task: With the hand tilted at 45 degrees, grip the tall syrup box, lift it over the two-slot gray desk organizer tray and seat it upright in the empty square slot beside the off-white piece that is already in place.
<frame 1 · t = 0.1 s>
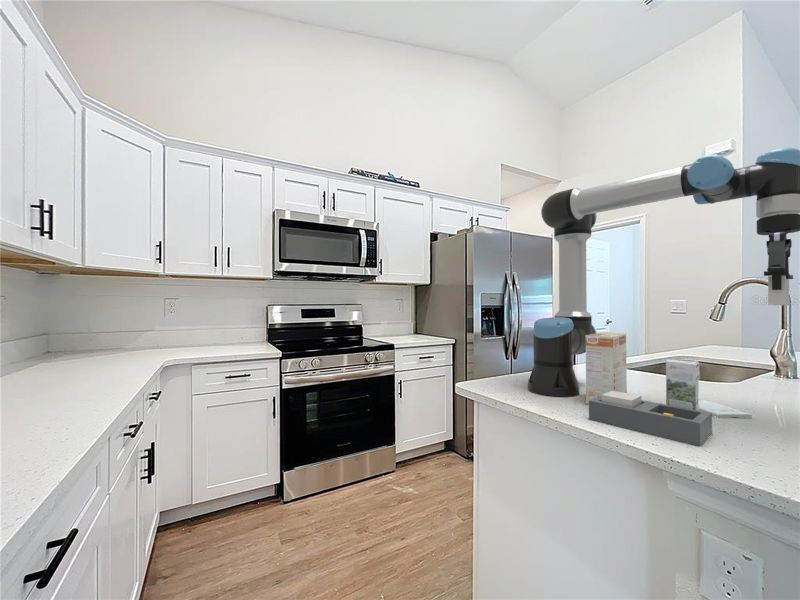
hand: (779, 305, 84), 28 cm above the countertop, tool pointing down, fingers open, 13 cm apart
gray desk organizer tray: (646, 426, 81), on the countertop
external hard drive: (713, 413, 93), on the countertop
syrup box: (682, 420, 85), on the countertop
coffeecake box: (606, 402, 101), on the countertop
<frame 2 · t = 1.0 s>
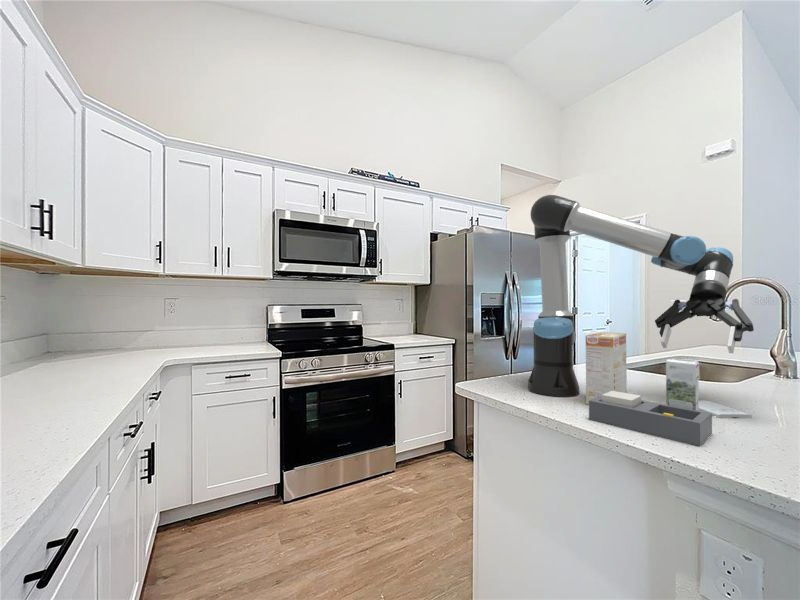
hand: (694, 347, 92), 17 cm above the countertop, tool tilted 45°, fingers open, 13 cm apart
nothing on the countertop moved.
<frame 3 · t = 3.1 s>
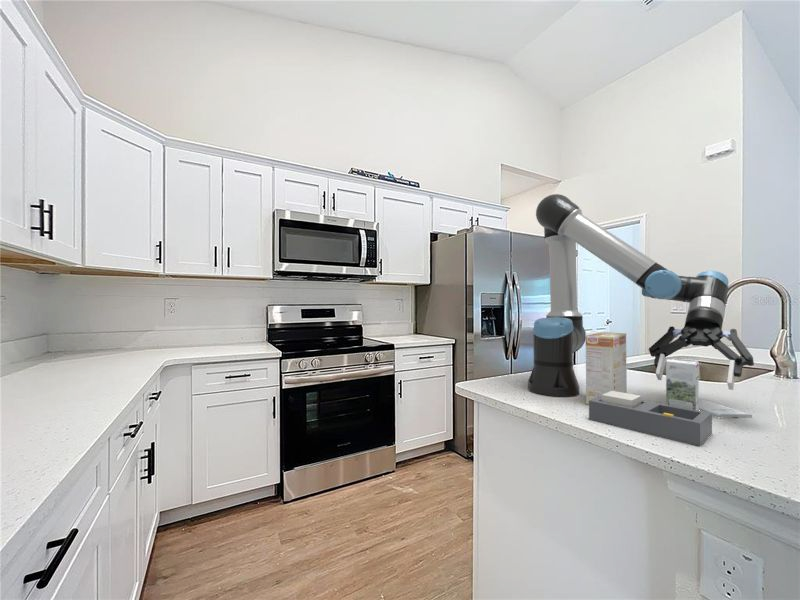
hand: (692, 381, 86), 9 cm above the countertop, tool tilted 45°, fingers open, 13 cm apart
nothing on the countertop moved.
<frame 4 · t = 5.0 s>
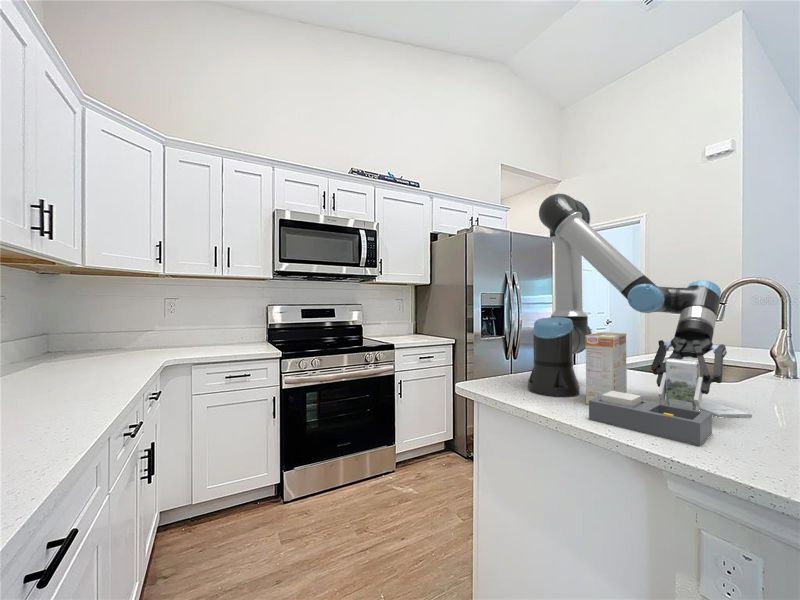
hand: (678, 400, 83), 5 cm above the countertop, tool tilted 45°, fingers closed on syrup box, 6 cm apart
syrup box: (682, 420, 85), on the countertop, touching gripper
everything else where it was.
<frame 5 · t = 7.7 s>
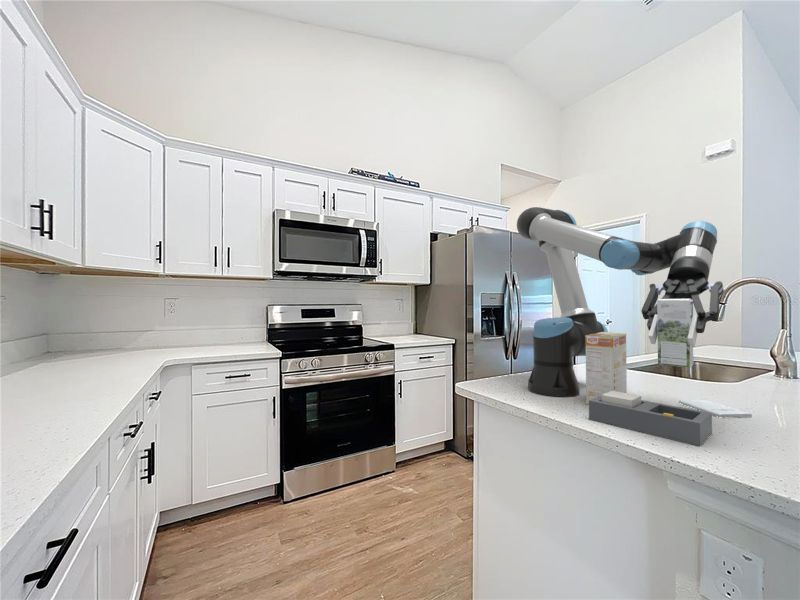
hand: (670, 341, 75), 20 cm above the countertop, tool tilted 45°, fingers closed on syrup box, 6 cm apart
syrup box: (675, 365, 77), point 15 cm above the countertop, touching gripper
everything else where it was.
when the fingers open (7 cm above the countertop, at t = 10.2 s): syrup box drops 1 cm, resting in gray desk organizer tray.
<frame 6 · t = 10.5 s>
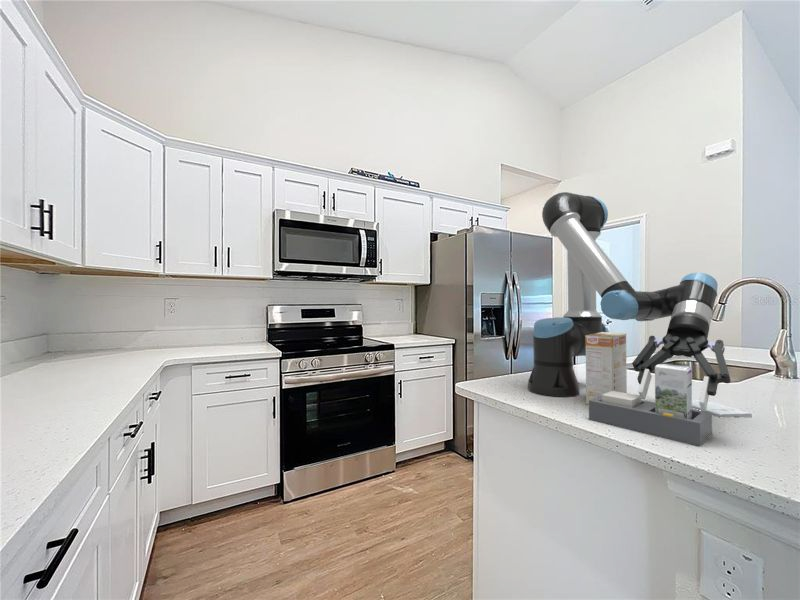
hand: (670, 400, 75), 7 cm above the countertop, tool tilted 45°, fingers open, 10 cm apart
syrup box: (673, 433, 77), resting in gray desk organizer tray
everything else where it was.
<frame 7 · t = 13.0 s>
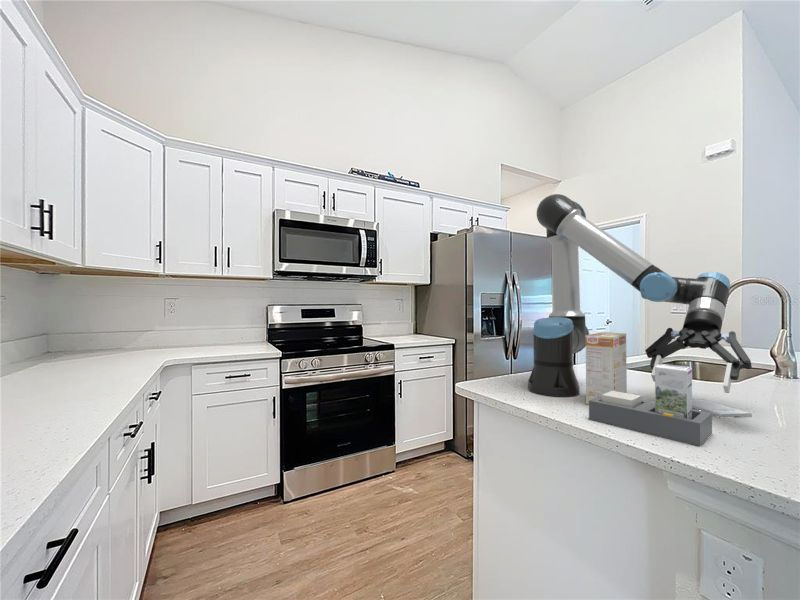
hand: (687, 383, 84), 9 cm above the countertop, tool tilted 45°, fingers open, 13 cm apart
nothing on the countertop moved.
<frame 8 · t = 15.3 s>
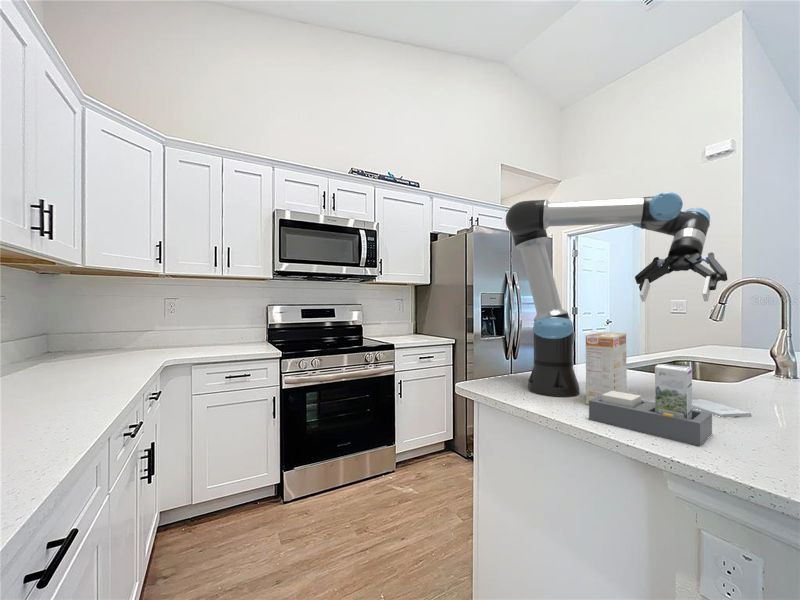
hand: (671, 297, 94), 30 cm above the countertop, tool tilted 45°, fingers open, 13 cm apart
nothing on the countertop moved.
at the end: syrup box 0.2 cm from the target spot on the gray desk organizer tray, point 0.0 cm above the gray desk organizer tray's base; syrup box tilted 0°; the gripper is holding nothing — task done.
